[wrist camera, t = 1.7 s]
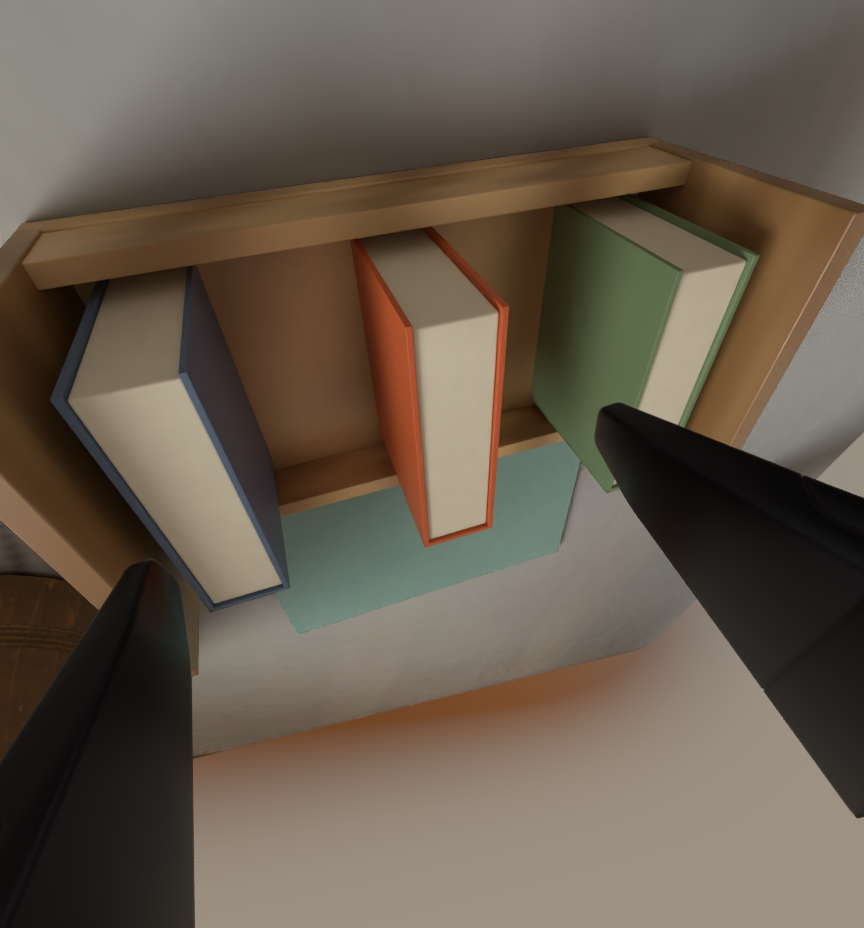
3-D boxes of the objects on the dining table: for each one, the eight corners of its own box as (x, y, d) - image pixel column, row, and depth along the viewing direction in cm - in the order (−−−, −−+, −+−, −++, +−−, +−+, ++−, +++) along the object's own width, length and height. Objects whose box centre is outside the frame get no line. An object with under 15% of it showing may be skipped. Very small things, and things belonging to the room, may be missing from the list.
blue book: (193, 257, 17) (186, 372, 12) (272, 461, 24) (290, 588, 19) (99, 272, 16) (49, 400, 11) (209, 476, 23) (210, 612, 18)
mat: (586, 421, 31) (590, 424, 31) (556, 547, 41) (558, 551, 41) (236, 514, 27) (236, 519, 26) (297, 630, 37) (297, 634, 36)
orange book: (425, 219, 18) (509, 305, 13) (435, 421, 25) (492, 527, 20) (348, 232, 18) (405, 327, 13) (380, 434, 25) (424, 547, 20)
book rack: (650, 136, 20) (879, 208, 13) (590, 390, 29) (706, 510, 22) (20, 223, 15) (-129, 403, 9) (185, 492, 25) (176, 682, 18)
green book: (620, 188, 20) (760, 254, 15) (578, 385, 27) (663, 476, 22) (555, 199, 19) (678, 271, 14) (529, 397, 26) (606, 493, 21)
